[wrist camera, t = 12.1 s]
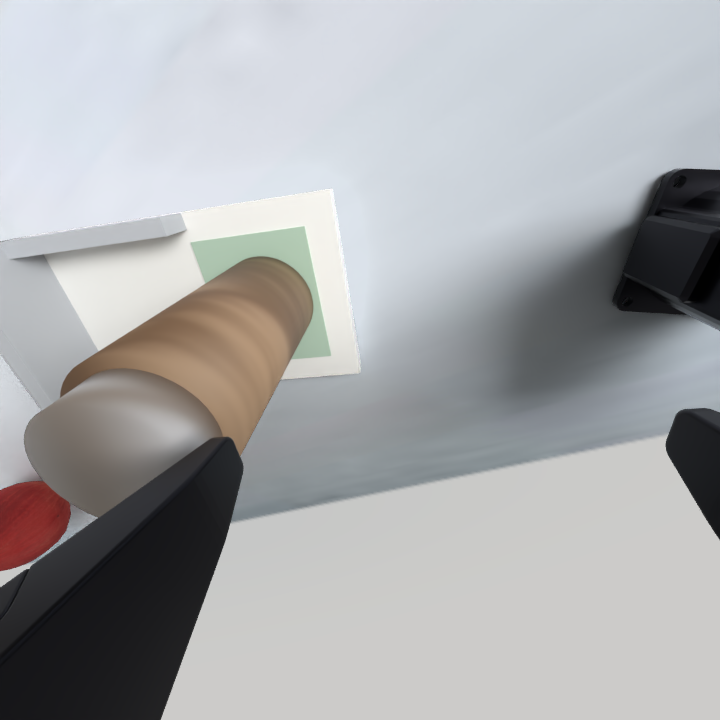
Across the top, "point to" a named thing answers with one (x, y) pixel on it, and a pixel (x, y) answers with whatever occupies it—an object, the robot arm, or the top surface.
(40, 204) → the top surface
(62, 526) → the onion
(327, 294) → the lane rack
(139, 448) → the pepper mill
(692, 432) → the robot arm
